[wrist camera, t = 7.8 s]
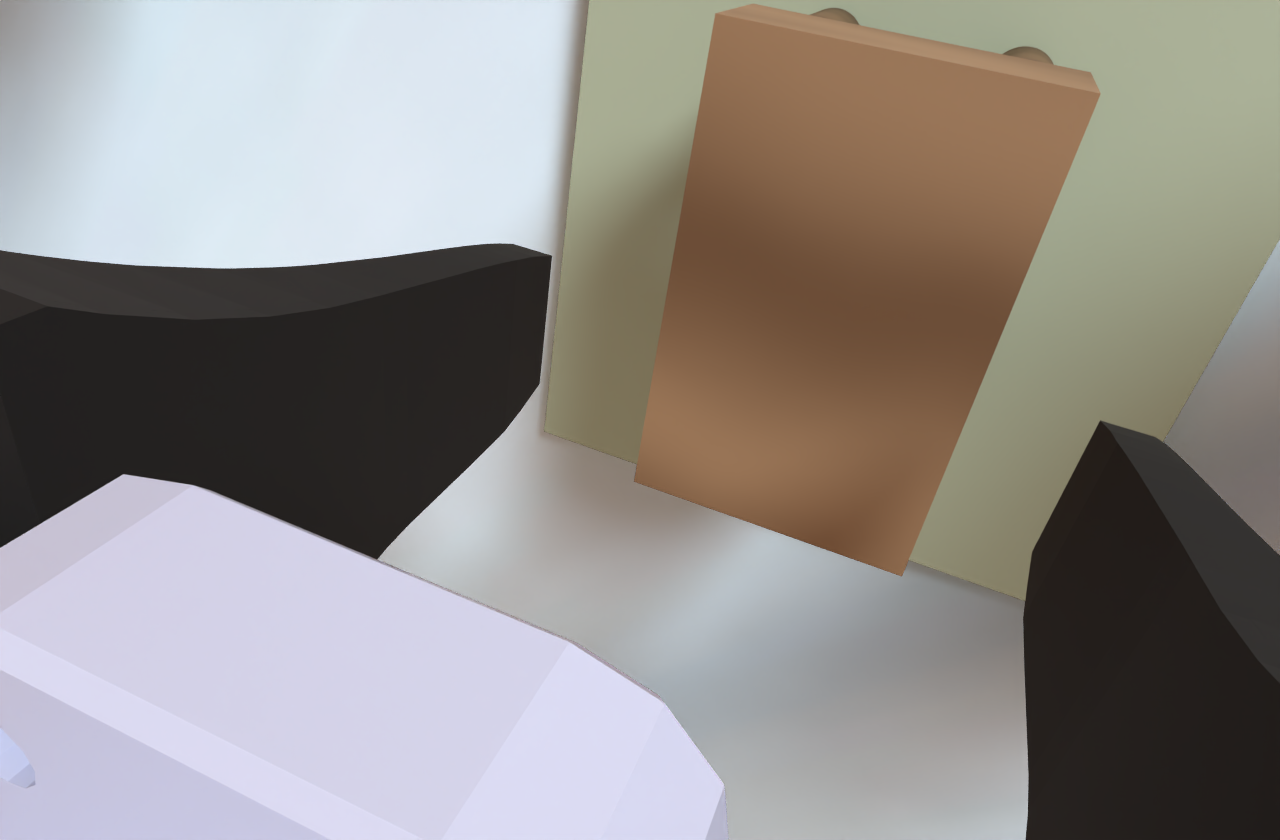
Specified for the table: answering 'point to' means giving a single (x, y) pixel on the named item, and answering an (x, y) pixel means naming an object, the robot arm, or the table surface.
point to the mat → (1057, 277)
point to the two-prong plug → (847, 269)
